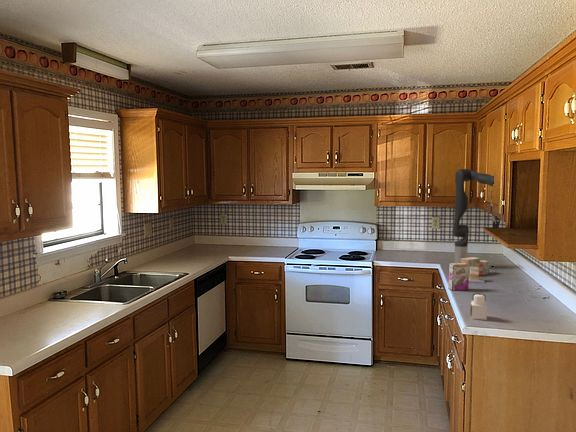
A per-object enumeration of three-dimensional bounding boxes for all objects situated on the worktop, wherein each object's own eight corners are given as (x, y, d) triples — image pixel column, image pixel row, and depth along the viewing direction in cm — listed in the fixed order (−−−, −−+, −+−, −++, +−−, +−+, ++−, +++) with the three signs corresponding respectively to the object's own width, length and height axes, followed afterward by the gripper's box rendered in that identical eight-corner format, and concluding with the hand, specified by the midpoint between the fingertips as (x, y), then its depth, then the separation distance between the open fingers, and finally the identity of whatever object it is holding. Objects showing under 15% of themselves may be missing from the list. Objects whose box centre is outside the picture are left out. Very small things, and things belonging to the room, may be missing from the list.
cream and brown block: (469, 278, 323) (469, 266, 323) (477, 278, 322) (477, 266, 322) (470, 279, 319) (470, 268, 318) (478, 280, 317) (478, 268, 317)
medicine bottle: (470, 314, 245) (471, 291, 243) (485, 316, 243) (486, 292, 241) (471, 319, 238) (472, 295, 237) (486, 320, 236) (487, 296, 235)
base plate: (463, 278, 328) (463, 276, 327) (481, 279, 325) (481, 277, 325) (465, 282, 316) (465, 280, 316) (484, 283, 313) (485, 281, 313)
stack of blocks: (482, 272, 348) (483, 255, 347) (489, 274, 342) (489, 257, 341) (460, 275, 339) (460, 258, 338) (466, 277, 333) (467, 259, 332)
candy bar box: (452, 291, 294) (452, 264, 292) (448, 289, 299) (448, 263, 297) (468, 290, 296) (469, 264, 294) (464, 288, 300) (465, 262, 299)
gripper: (488, 204, 332) (487, 227, 334) (492, 206, 318) (491, 230, 320) (500, 204, 330) (499, 227, 332) (504, 206, 317) (503, 230, 318)
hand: (495, 229), depth 326 cm, fingers open, 8 cm apart
